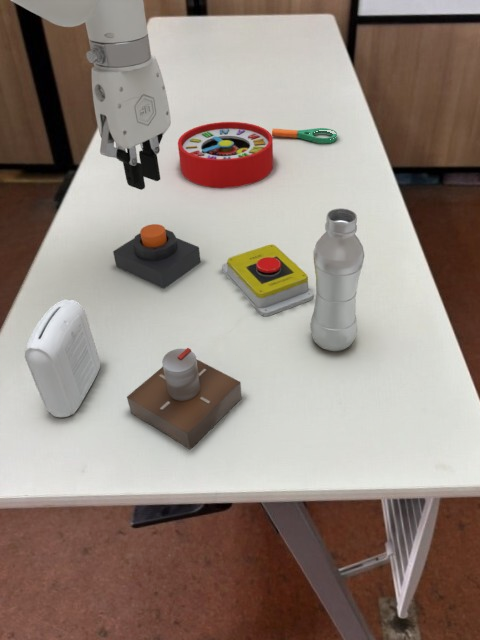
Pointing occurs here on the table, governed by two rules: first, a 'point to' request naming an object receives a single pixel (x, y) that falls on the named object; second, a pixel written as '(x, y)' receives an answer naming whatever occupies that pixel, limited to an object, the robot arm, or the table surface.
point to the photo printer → (62, 357)
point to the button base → (158, 259)
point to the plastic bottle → (337, 281)
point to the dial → (181, 374)
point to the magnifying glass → (306, 134)
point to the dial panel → (185, 404)
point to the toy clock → (226, 154)
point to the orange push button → (153, 235)
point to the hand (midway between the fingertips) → (144, 181)
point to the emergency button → (268, 279)
